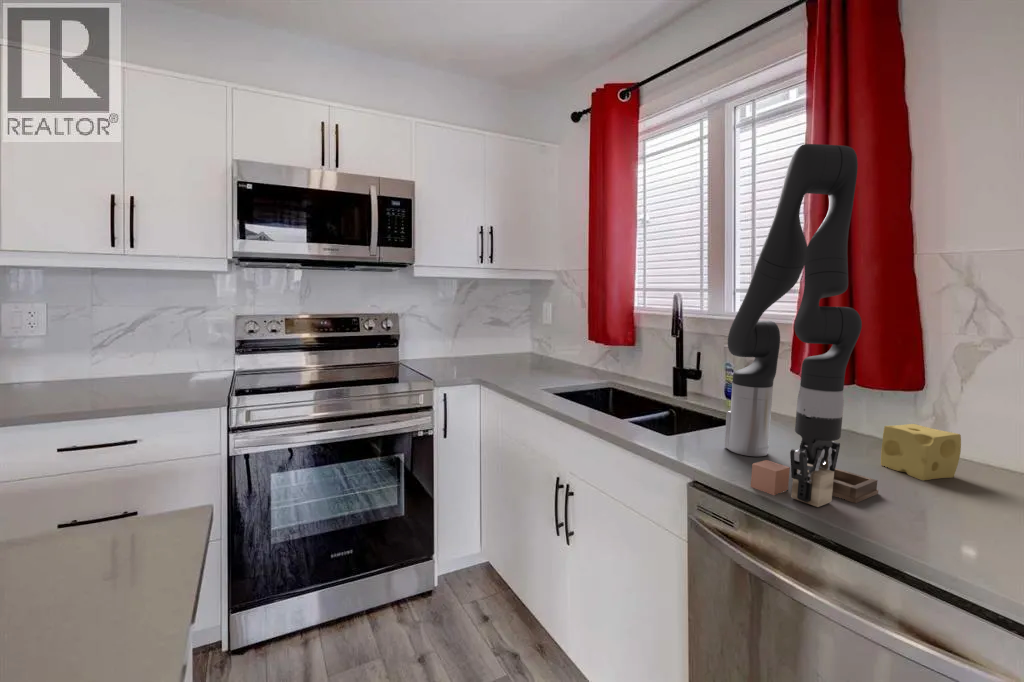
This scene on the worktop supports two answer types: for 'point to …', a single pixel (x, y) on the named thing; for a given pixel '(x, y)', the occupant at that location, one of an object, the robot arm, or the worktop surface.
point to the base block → (818, 487)
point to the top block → (770, 477)
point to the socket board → (853, 486)
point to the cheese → (920, 451)
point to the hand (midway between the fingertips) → (811, 497)
